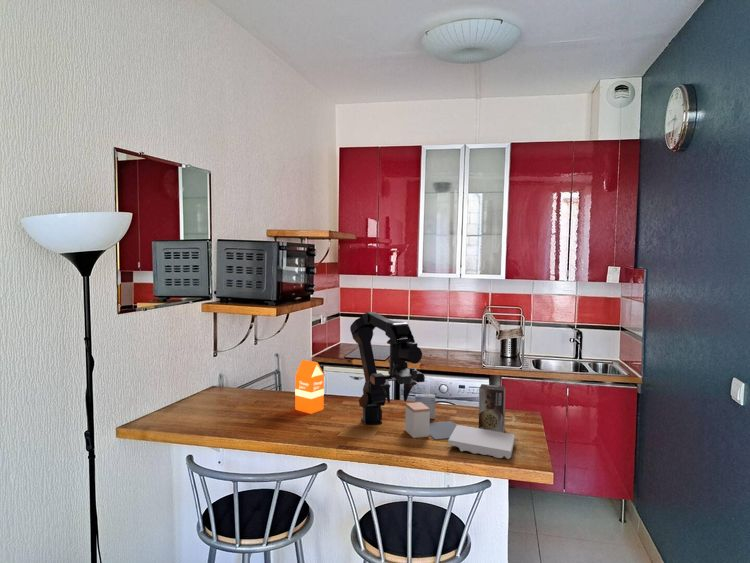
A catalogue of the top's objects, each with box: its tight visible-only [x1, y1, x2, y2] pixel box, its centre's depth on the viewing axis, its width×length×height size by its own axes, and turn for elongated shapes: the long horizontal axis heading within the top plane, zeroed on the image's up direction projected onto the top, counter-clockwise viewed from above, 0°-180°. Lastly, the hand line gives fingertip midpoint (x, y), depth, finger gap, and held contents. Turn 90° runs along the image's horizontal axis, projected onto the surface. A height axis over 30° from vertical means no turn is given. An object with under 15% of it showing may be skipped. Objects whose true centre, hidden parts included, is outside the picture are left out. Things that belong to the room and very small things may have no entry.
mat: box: [429, 420, 458, 441], centre depth 187 cm, size 14×16×1 cm
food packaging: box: [447, 424, 516, 460], centre depth 172 cm, size 15×3×20 cm
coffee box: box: [477, 383, 506, 433], centre depth 188 cm, size 9×6×16 cm
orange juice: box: [294, 359, 325, 415], centre depth 208 cm, size 8×9×20 cm
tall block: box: [404, 402, 431, 439], centre depth 184 cm, size 6×8×10 cm
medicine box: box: [414, 393, 436, 420], centre depth 202 cm, size 8×4×9 cm, turn 84°
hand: (396, 401), depth 181 cm, fingers open, 6 cm apart
